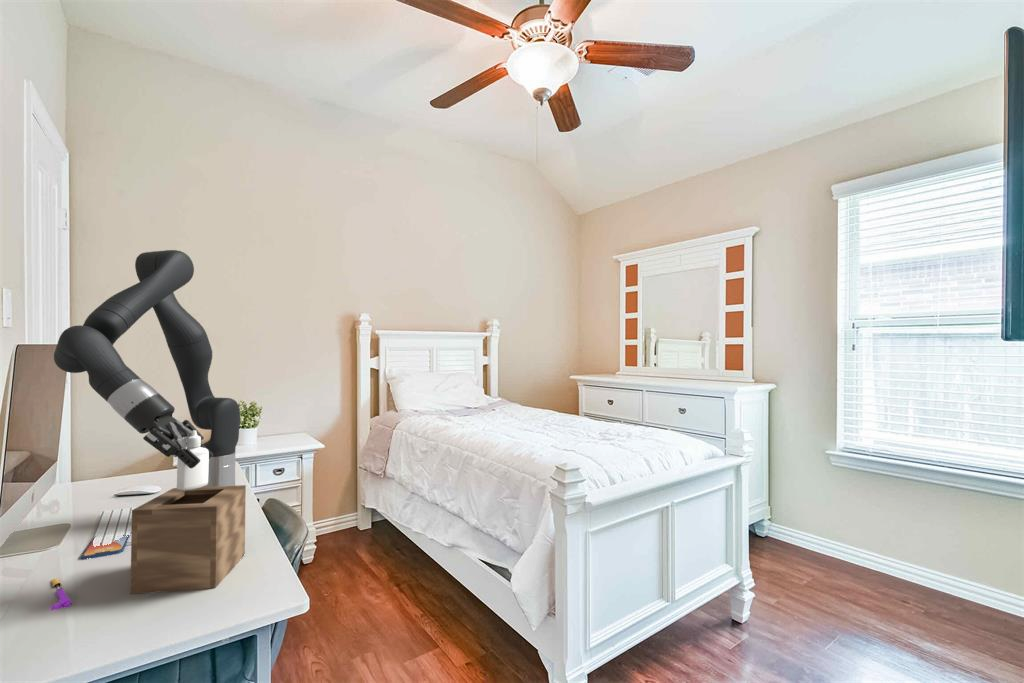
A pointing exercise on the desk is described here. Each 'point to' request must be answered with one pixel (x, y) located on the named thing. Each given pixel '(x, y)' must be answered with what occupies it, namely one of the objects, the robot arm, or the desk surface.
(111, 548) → the smartphone
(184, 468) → the eye dropper bottle
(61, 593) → the linear piston actuator
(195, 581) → the box
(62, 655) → the desk surface
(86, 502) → the desk surface
